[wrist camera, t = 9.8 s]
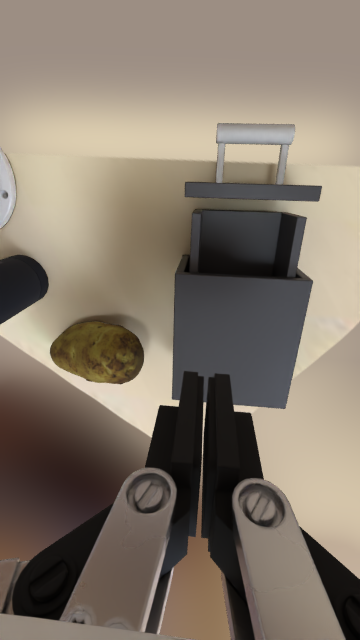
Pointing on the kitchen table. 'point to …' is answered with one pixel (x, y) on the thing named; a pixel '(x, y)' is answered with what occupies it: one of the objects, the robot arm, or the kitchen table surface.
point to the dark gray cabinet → (239, 332)
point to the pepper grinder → (20, 285)
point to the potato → (99, 352)
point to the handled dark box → (249, 214)
